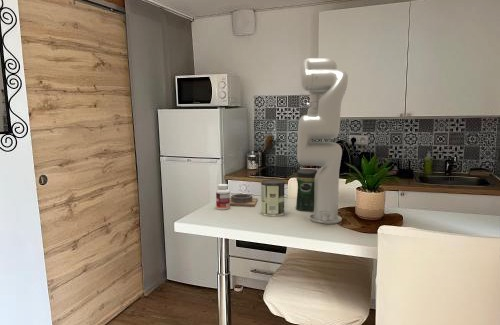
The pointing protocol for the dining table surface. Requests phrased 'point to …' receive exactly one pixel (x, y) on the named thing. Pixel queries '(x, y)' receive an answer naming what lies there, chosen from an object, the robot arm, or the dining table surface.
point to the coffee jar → (305, 189)
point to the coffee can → (272, 197)
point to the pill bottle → (222, 197)
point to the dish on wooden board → (243, 200)
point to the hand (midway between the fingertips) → (316, 139)
